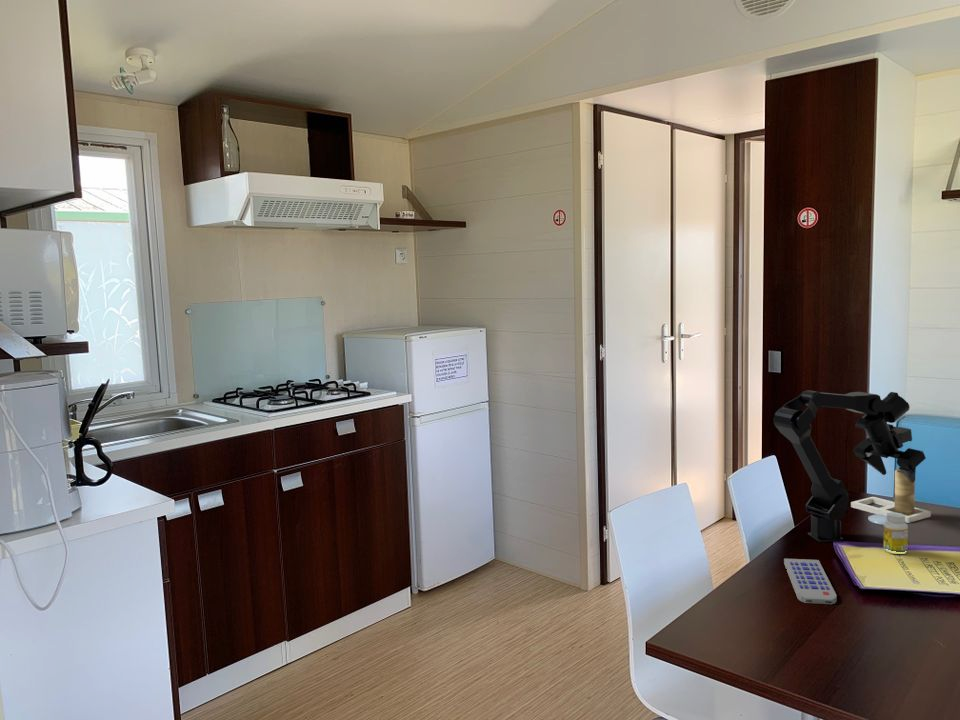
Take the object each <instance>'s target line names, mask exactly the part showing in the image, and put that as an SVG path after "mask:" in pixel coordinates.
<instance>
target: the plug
mask: <svg viewBox="0 0 960 720" xmlns="http://www.w3.org/2000/svg"><path fill="white" fill-rule="evenodd" d="M899 468H900V466H897V467H896V469H894V502H895V510H894V512H896V513H901V514H904V515H907V516H910V515H913V514H914V511H915V508H916V507H915V504H916V503H915V502H916V501H915V498H916V496H915V495H916V492H915V491H916V480H915V481H914V482H913V483H911V482H910V481H909V480H908V479H907V477H906V476H905V475H904V474H903V473H902V472H901V470H900V469H899Z"/></svg>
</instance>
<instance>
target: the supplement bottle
mask: <svg viewBox="0 0 960 720" xmlns="http://www.w3.org/2000/svg"><path fill="white" fill-rule="evenodd" d="M887 520H888V521H886V522H884V525H883V549H884V548H885V549H888V550H891V551H896V552H905V551H907V550H909V549H908V548H909V547H908V545H909V542H908V541H909V540H908V539H909V527H908V523H906V522H904V521H905V515H904V514H901V513H896V512H889V513H887Z"/></svg>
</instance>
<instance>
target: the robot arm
mask: <svg viewBox="0 0 960 720" xmlns="http://www.w3.org/2000/svg"><path fill="white" fill-rule="evenodd" d="M910 407H911V406H910V404H909V402H908V401H906V399H905V398H904V397H902V396H900V395H899V393H898V392H894V391H890V392H889V393H888V394H887V395H886V396H885V397H884V398H883V399H882V398H881V396H880V395H879V394H875V393H870V392H863V391H853V392H852V391H851V392H848V393H845V394H842V393H840V394H839V393H833V392H832V393H831V392H820V391H815V390H808V389H807V390H804V391H802V392H801V393H800V394H799V395H797V396H796V397H795V398H793V399H791V400H789V401H787V402H786V403H784V404H783V405H782V406H781V407H780V408H779V409H777V411H775V413H774V416H773V418H772V421H773V424H774V426H775V428H776V429H777V430H778V431H779V433H780V434H781V435H783V436H784V437H785V438H786V439H787V440H788V441H789V442H790V443H791V444H792V446H793V449H794V450H795V452H796V454H797V456H798V458H799V459H800V461H801V463H802V466H803V468H804V469H805V472H806V473H807V475H808V477H809V479H810V481H811V489H810V492H811V497H810V498H809V500H808V501H807V502H806V504H804V507H805V510H806V513H809V514H811V515H810V532H807V535H808V536H809V537H811V538H813V539H814V540H816V541H818V542H820V543H827V542H840V541H843V540H844V537H842V536H841V535H842V533H841V532H842V531H841V530H842V521H841V520H842V519H845V516H846V512H847V510H848V506H849V501H850V498H849V494H850V492H849V491H848V490H847V488H846V486H845V483H844V482H843V480H839V479H837V478H833V477H831V475H830V472H829V470H828V469H827V467H826V464H825V462H824V461H823V459H822V457H821V455H820V453H819V451H818V449H817V447H816V445H815V443H814V440H813V439H812V437H811V432H812V425H811V423H812V422H813V421H814V420H815V419H816V417H817V413H818V410H819V409H820V408H834V409H843V410H844V409H845V410H846V411H850V412H853V413H858V414H861V415H862V414H864V415H863V416H862V417H859V416H858V418H857V421H856V423H855V425H854V426H855V428H860V429H864V431H865V433H866V435H867V438H864V439H863V440H862V441H860V442H858V444H856V446H854V449H853V453H854V455H855V457H857V458H859V459H860V460H862V461H863V462H865V463H866V464H868V466H871V467H872V468H873V469H875V470H876V471H877V472H878V473H880V475H883V476H885V475H886V474H887V469H886V466H885V464H884V461H883V458H884V459H887V458H893V459H896V463H897V467H900V468H899V469H900V470H901V472H902V473H903V474H904V475H905V476H906V477H907V479H908V480H909V481H910V482H911V483H913V482H914V481H915V482H916V469H917V467H918V466H919V465H920V464H921V463H922V462H924V461H925V460H926V458H927V457H926V455H925V453H924V450H919V449H915V448H910V447H908V448H906V449H905V451H902V450H899V449H901V448H902V447H904V444H905V443H907V442H912V441H913V436H912V435H913V434H912V429H911V428H908V427H907V428H906V427H901V426H894V424H893V423H896V422H897V421H898V420H899V419H900V418H901V417H903V416H904V415H906V413H908V412H909V411H910ZM804 408H805V410H802V409H804ZM825 508H826V509H825Z"/></svg>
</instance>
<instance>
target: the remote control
mask: <svg viewBox="0 0 960 720" xmlns="http://www.w3.org/2000/svg"><path fill="white" fill-rule="evenodd" d="M783 564H784V567H785V569H787V570H786V572H787V574H788V577H789V580H790V582H791V585H792V588H793V590H794V592H795V594H796V597H797V600H798V601H800V602H802V603H805V604H818V605H820V604H821V605H833V604H836V603H837V599H838V598H837V594H836V591H835V589H834V587H833V586H832V584H831V581H830V580H829V577H828V576H827V574H826V572H825V570H824V568H823V566H822V564H821V561H820V559H805V558H804V559H803V558H802V559H801V558H800V559H799V558H783Z"/></svg>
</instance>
